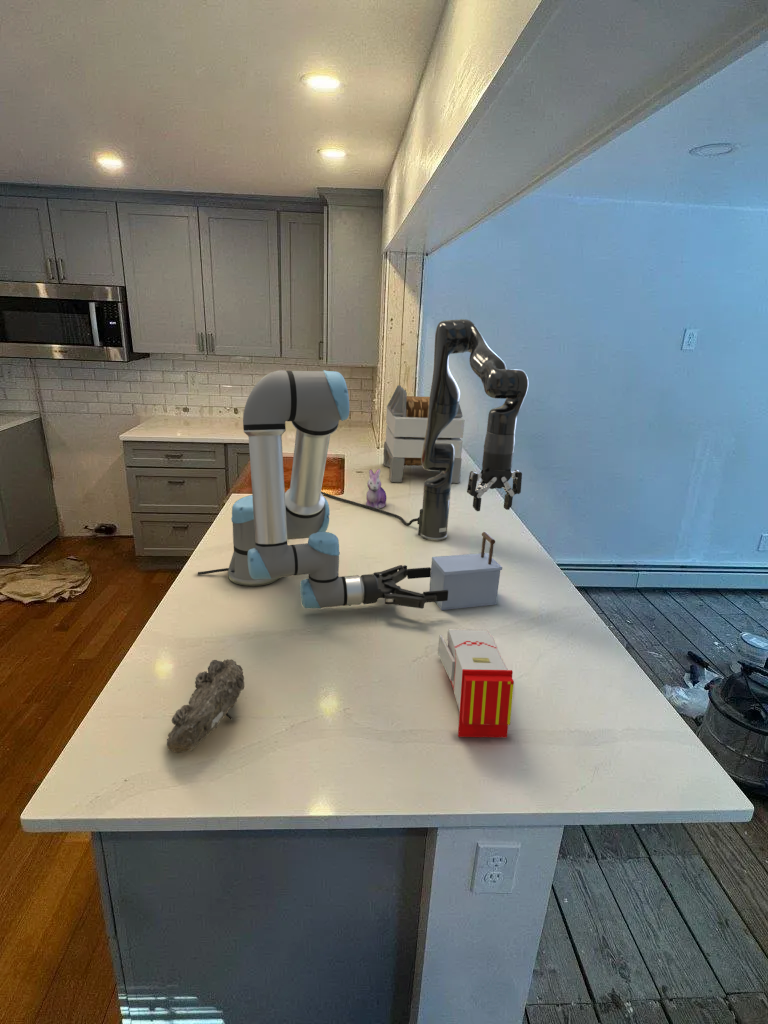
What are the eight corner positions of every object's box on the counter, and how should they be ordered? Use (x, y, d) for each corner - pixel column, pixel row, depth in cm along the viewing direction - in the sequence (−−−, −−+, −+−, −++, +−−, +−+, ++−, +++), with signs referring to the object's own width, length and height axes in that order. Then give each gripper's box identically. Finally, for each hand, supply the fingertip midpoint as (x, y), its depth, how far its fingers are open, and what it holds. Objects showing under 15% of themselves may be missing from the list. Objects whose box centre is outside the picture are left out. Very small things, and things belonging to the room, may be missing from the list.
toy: (488, 613, 130) (523, 677, 101) (484, 667, 133) (517, 744, 104) (435, 612, 130) (455, 676, 101) (432, 666, 133) (451, 743, 103)
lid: (486, 555, 160) (489, 528, 157) (502, 570, 151) (505, 541, 148) (431, 559, 156) (433, 532, 153) (444, 575, 147) (447, 546, 144)
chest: (481, 588, 163) (484, 555, 160) (496, 604, 155) (500, 570, 151) (429, 593, 159) (431, 559, 156) (441, 610, 150) (444, 575, 147)
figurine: (370, 511, 220) (372, 474, 215) (359, 503, 229) (360, 467, 224) (392, 508, 224) (394, 471, 219) (380, 500, 233) (381, 465, 228)
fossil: (192, 660, 117) (244, 628, 112) (224, 691, 120) (276, 661, 115) (142, 746, 98) (202, 712, 93) (182, 779, 101) (242, 748, 96)
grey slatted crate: (382, 463, 289) (386, 382, 275) (445, 464, 293) (451, 384, 279) (390, 482, 257) (394, 392, 243) (460, 483, 261) (468, 394, 247)
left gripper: (351, 580, 159) (423, 575, 164) (371, 627, 136) (454, 619, 142) (351, 556, 156) (424, 551, 162) (372, 599, 134) (456, 592, 139)
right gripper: (479, 454, 139) (472, 516, 144) (531, 452, 143) (523, 513, 148) (467, 446, 146) (461, 506, 151) (516, 445, 149) (509, 503, 155)
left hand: (438, 583), depth 152 cm, fingers open, 13 cm apart
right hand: (491, 509), depth 150 cm, fingers open, 8 cm apart
